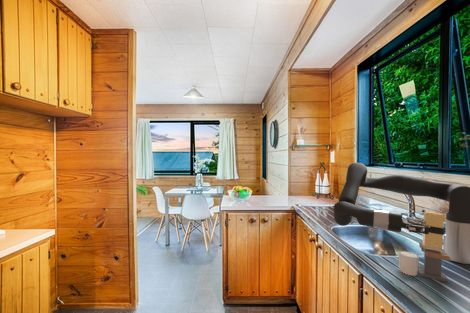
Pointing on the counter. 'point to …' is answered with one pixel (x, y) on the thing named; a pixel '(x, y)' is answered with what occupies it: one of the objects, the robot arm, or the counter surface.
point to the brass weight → (432, 238)
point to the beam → (434, 252)
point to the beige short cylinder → (408, 262)
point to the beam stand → (432, 269)
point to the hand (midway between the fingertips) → (441, 229)
